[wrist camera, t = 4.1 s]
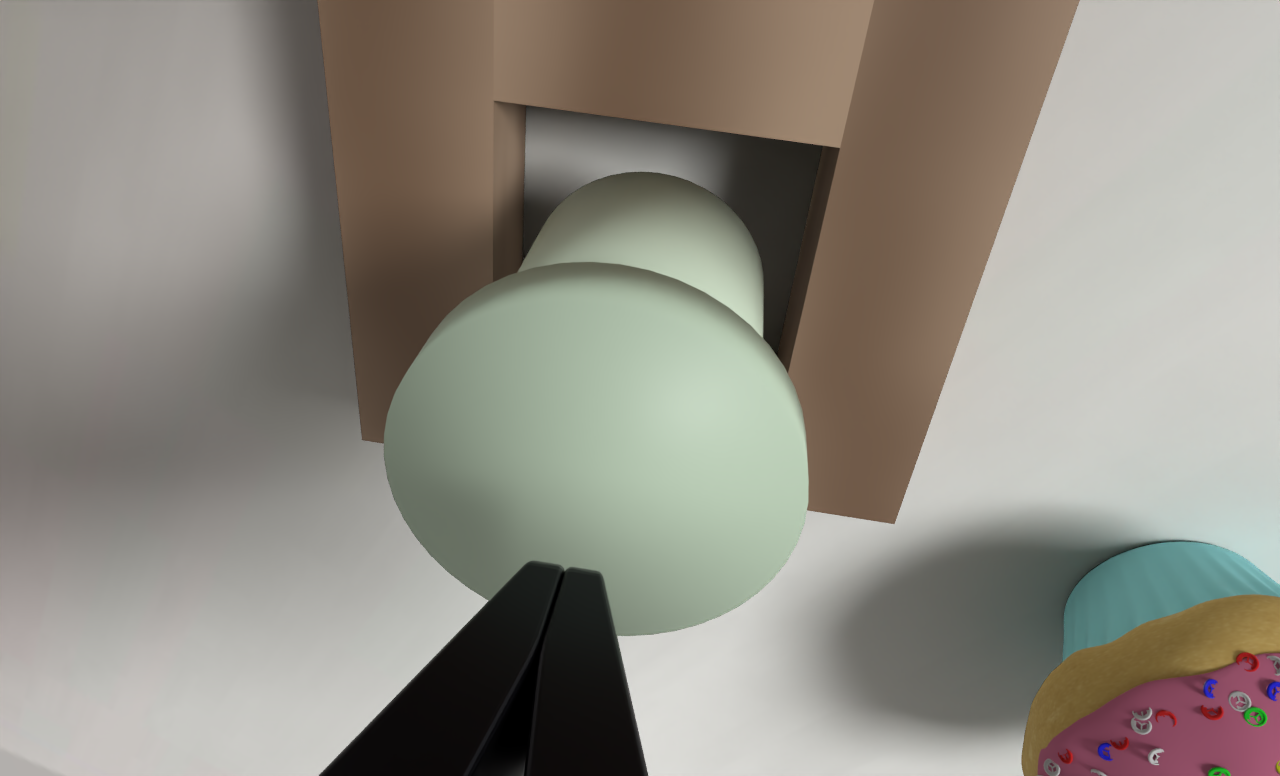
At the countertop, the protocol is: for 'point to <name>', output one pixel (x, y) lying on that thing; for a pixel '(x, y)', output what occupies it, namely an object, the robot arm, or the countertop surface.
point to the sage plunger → (610, 413)
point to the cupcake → (1163, 670)
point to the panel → (713, 100)
